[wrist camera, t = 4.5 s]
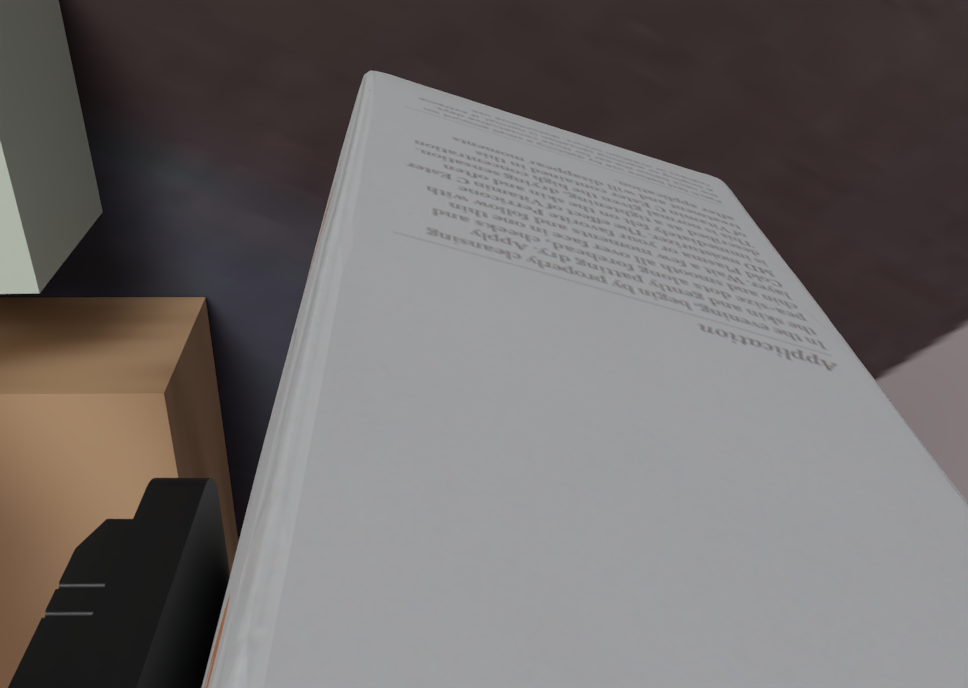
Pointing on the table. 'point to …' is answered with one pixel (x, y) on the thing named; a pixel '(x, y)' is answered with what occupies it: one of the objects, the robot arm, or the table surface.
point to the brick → (40, 149)
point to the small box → (575, 440)
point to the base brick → (95, 432)
